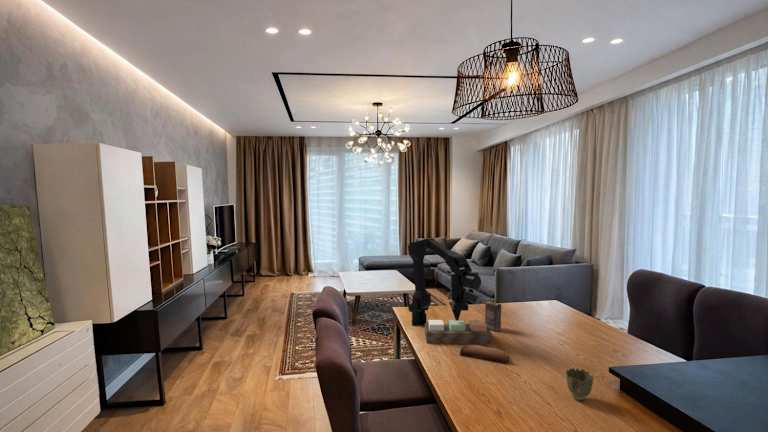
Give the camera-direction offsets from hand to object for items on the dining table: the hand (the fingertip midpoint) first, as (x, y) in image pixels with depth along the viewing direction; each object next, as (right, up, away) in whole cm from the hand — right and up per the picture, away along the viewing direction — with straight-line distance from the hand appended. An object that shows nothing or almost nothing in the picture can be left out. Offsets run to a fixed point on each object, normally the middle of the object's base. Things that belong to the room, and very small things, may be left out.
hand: (457, 320), depth 158 cm
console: (0, -8, 0) cm, 8 cm away
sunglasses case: (+8, -10, -16) cm, 20 cm away
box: (+19, -8, +12) cm, 24 cm away
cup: (+28, -11, -47) cm, 55 cm away
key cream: (-9, -5, +1) cm, 11 cm away
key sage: (0, -5, 0) cm, 5 cm away
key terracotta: (+9, -5, 0) cm, 10 cm away
